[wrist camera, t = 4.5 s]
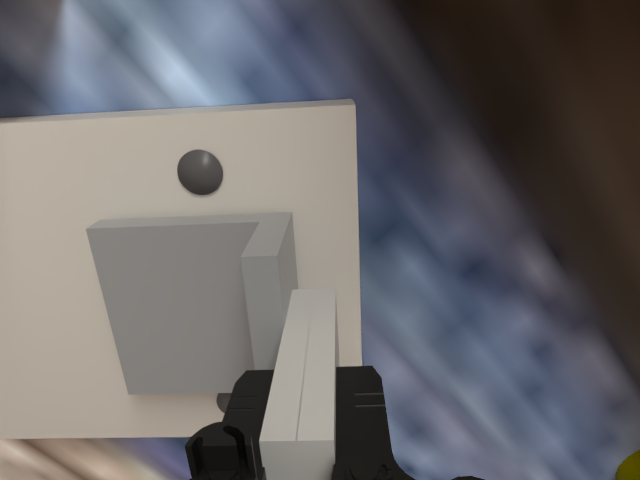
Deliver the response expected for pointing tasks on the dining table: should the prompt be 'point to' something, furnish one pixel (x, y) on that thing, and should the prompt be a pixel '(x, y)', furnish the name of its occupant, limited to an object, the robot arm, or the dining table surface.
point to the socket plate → (149, 202)
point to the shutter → (195, 296)
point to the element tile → (630, 468)
